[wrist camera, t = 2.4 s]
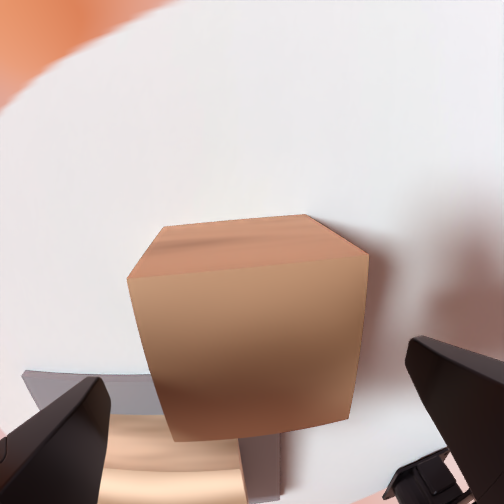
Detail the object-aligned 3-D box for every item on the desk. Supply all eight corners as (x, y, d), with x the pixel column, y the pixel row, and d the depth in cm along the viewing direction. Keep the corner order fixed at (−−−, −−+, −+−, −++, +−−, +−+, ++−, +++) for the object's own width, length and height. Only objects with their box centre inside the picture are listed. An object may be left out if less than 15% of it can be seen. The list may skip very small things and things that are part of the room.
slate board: (278, 494, 20) (279, 500, 19) (107, 496, 18) (106, 501, 18) (276, 363, 15) (278, 370, 15) (25, 370, 14) (21, 376, 13)
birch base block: (247, 492, 18) (253, 533, 14) (121, 492, 17) (115, 530, 13) (233, 410, 15) (240, 468, 11) (68, 410, 14) (48, 458, 10)
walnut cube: (305, 334, 15) (348, 418, 9) (184, 347, 14) (174, 442, 9) (304, 214, 13) (369, 254, 8) (163, 226, 13) (126, 278, 7)
